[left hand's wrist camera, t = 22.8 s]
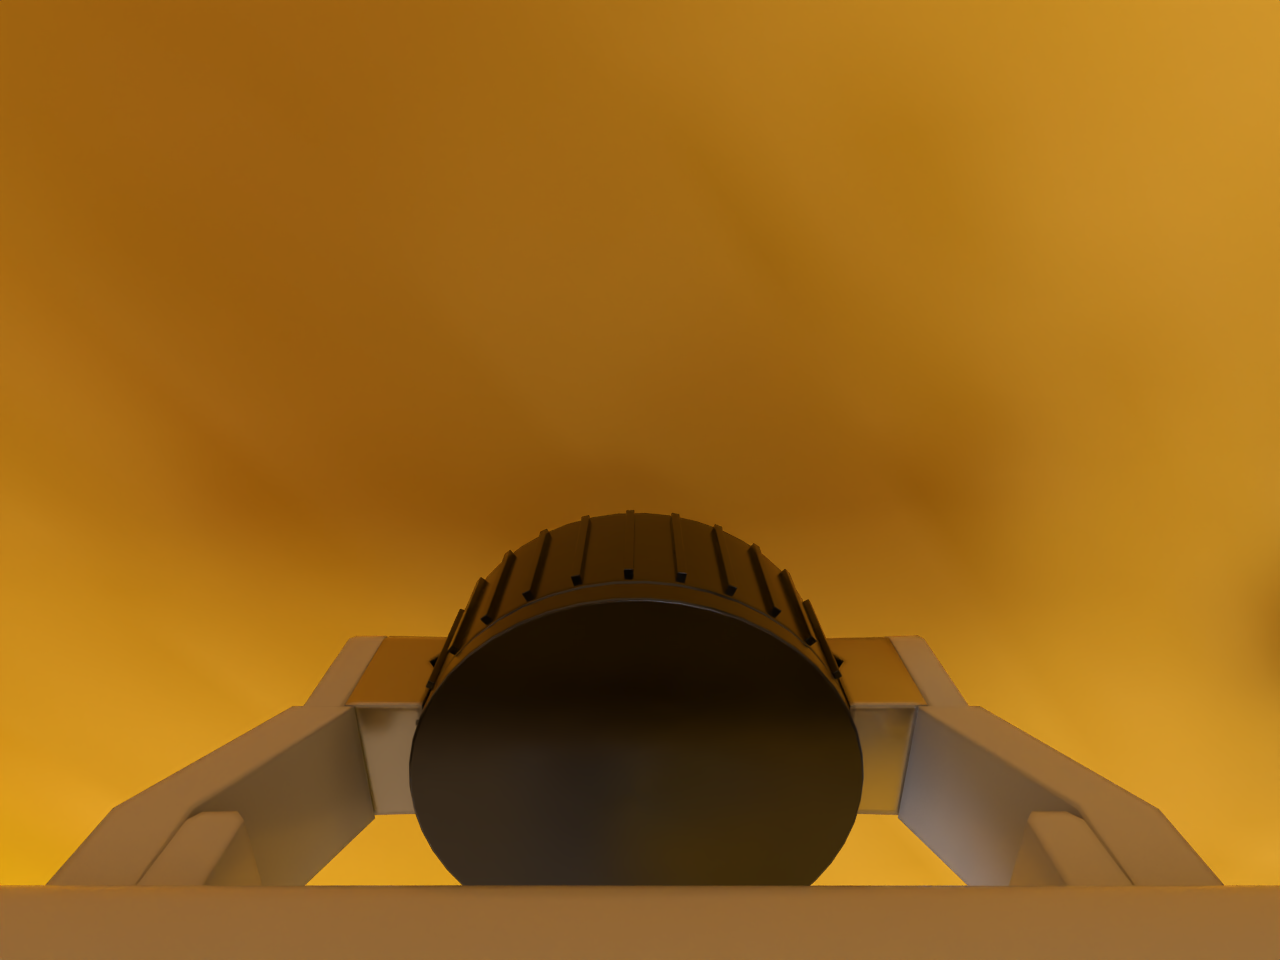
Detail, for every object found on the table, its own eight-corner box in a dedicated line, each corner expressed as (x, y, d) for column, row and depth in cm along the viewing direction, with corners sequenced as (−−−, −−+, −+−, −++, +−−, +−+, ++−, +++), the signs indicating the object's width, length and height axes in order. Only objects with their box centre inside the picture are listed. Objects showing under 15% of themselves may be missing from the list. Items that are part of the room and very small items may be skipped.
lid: (902, 627, 10) (971, 737, 8) (688, 863, 12) (698, 1004, 10) (570, 430, 9) (548, 499, 7) (386, 723, 11) (326, 848, 9)
